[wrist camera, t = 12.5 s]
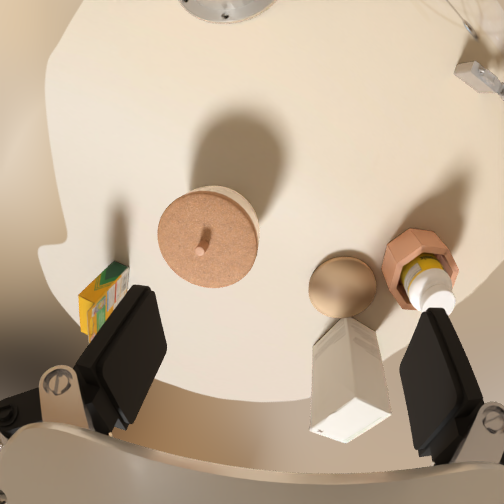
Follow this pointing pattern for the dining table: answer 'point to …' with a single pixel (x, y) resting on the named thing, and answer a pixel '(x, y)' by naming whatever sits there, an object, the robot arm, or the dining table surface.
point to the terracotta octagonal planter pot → (407, 250)
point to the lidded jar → (209, 236)
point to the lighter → (479, 78)
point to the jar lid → (342, 287)
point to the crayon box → (102, 298)
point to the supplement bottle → (428, 283)
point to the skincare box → (347, 382)
